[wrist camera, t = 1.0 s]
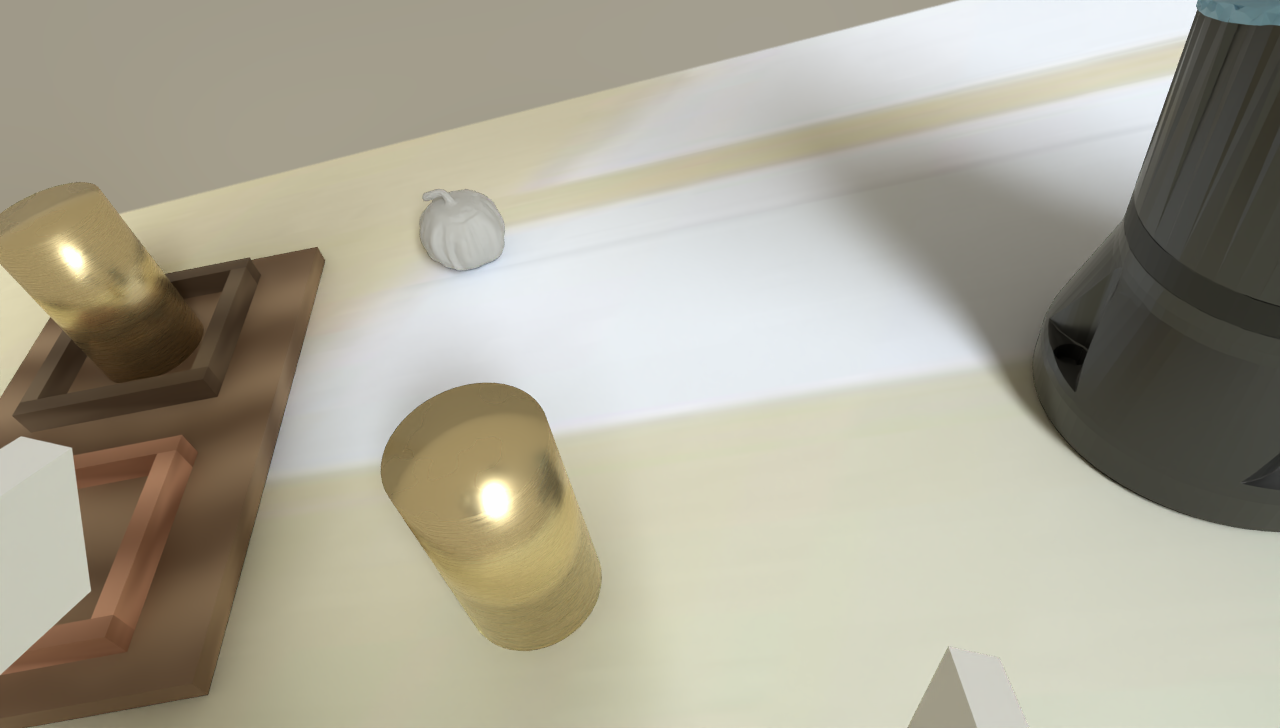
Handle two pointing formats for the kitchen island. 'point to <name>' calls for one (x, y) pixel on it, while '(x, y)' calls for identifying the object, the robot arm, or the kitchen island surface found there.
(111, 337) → the cylinder
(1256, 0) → the robot arm
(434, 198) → the garlic
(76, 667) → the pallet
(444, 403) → the brass billet
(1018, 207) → the kitchen island surface
